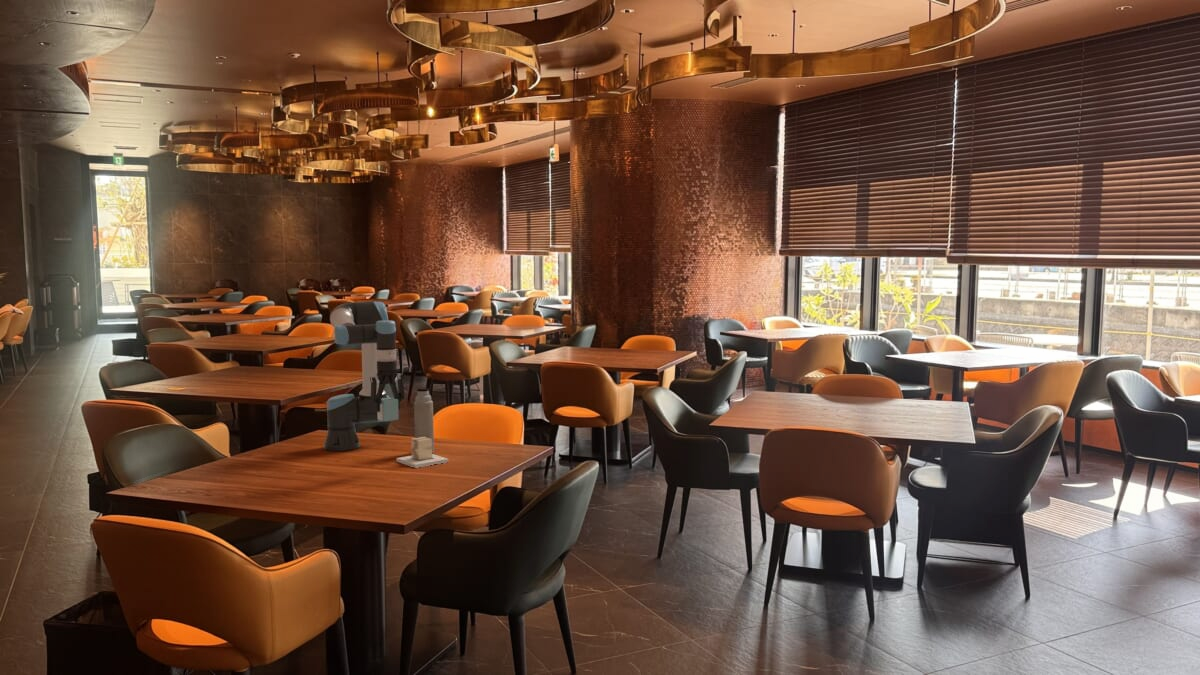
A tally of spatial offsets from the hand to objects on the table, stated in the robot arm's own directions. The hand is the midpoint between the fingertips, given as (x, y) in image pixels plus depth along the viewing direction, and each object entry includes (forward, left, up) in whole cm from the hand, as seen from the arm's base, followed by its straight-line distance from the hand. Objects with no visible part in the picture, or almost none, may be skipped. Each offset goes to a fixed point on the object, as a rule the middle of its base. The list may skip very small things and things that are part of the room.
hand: (388, 418), depth 352 cm
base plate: (-5, +17, -21) cm, 28 cm away
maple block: (-5, +17, -19) cm, 26 cm away
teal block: (0, 0, 0) cm, 0 cm away
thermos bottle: (-20, +27, -21) cm, 40 cm away
